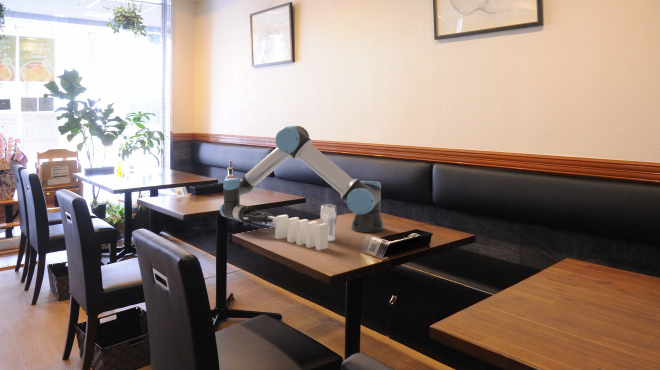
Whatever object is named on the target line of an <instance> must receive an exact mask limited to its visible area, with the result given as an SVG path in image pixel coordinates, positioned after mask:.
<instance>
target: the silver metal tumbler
mask: <svg viewBox="0 0 660 370" xmlns="http://www.w3.org/2000/svg"><path fill="white" fill-rule="evenodd" d="M337 213H338V212H337V205H335V204H331V203H330V204H328V203H327V204H322V205H321V206H320V224H323V223H326V224H328V243H329V242H334V241H336V236H335V229H336V224H337V217H338V216H337Z"/></svg>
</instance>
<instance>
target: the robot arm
mask: <svg viewBox="0 0 660 370" xmlns="http://www.w3.org/2000/svg"><path fill="white" fill-rule="evenodd" d="M274 141H275V145H276V147H275V149H273V150H272V151H271V152H270V153H268V155H266V156H265V157H264V158H263V159H262V160H260V162H258V163H257V164H256V165H255V166H253V167H252V168H251V169H250V170H249V171H248V172H246V174H244V176H242V177H240V179H239V178H238V177H237V178H236V177H226V178H224V180H223V185H222V186H223V188H222V189H223V202H222V203H221V204H220V207H219V213H220V215H221V216H222V217H225V218H226V219H232V220H235V221H238V222H240V223H242V222H243V223H248V224H250V223H252V222H253V223H260V224H262V223H264V225H267V224H268V223H269V224H272V225H276V218H277V216H274V214H272V213H269V212H267V211H263V212H260V211H257V210H256V209H255V208H254V207H252V206H250V205H246V204H245V205H243V204H241V200H240V199H241V197H240V196H243V195H246V194H249V193H251V192H252V191H253V189H254V188H255V187H256V186H257V185H258V184H260V183H261V182H262V181H263V180H264V179H266V177H268V176H269V175H271V173H273V172H274V171H275V170H277V168H278V167H280V166H282V164H283V163H285V161H287V160H288V159H290V157H292V158H293V159H294V161H299V160H300V162H302V163H304V164H305V165H306V166H307V167H308V168H310V169H311V170H312V171H314V173H315V174H317V175H318V176H319V177H320V178H321V179H323V180H324V181H325V182H326V183H327V184H328V185H330V186H331V187H332V188H333V189H335V190H336V191H337V192H338V193H339V194H340V199H341V200H342V201H343V202H344V203H346V205H347V207H348V210H349V211H351V212H352V213H354V215H353V219H352V223H351V229H352V230H353V231H354V232H358V233H359V232H360V233H379V232H382V231H383V230H384V229H385V228H384V227H385V225H384V222H383V218H382V215H381V203H382V202H381V195H382V191H381V190H382V184H381V182H380V181H372V180H370V181H369V180H360V179H359V178H352V177H351V176H350V175H349V174H348V173H346V172H345V171H344V170H342V168H340V167H339V166H338V165H337V164H335V162H333V161H332V160H331V159H330V158H328V157H327V156H326V154H324V153H322V152H321V151H320V150H319V149H318V148H317V147H315V146H314V145H313V140H312V139H311V138H310V135H309V132H308V131H307V129H306V128H305V127H303V126H300V125H287V126H284V127H282V128H280V129H279V130H278V131H277V132H276V135H275V140H274Z"/></svg>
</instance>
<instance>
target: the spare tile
mask: <svg viewBox="0 0 660 370" xmlns="http://www.w3.org/2000/svg"><path fill="white" fill-rule="evenodd" d="M276 217H277V218H276V224H275V230H274V239H276V240H281V239H286V238H287V219H289V215H288V214H280V215H276Z"/></svg>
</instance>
